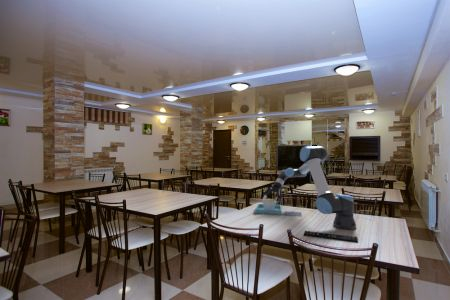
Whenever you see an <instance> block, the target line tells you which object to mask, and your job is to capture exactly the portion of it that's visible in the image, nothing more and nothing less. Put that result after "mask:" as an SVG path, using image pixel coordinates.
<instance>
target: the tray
mask: <svg viewBox="0 0 450 300" xmlns="http://www.w3.org/2000/svg"><path fill="white" fill-rule="evenodd" d="M282 209H283V206H282V204H276V205H275V210H264V203H257V205H256V207H255V209H254V210H255V211H254V213H255V215H278V216H279V215H280V216H281V215H282Z"/></svg>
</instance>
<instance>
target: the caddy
mask: <svg viewBox="0 0 450 300" xmlns="http://www.w3.org/2000/svg"><path fill="white" fill-rule="evenodd" d="M275 199H276V198H275ZM275 199H273V198H266V199H264V202H263V204H264V210H275V204H274V201H275Z"/></svg>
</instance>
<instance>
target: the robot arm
mask: <svg viewBox="0 0 450 300" xmlns="http://www.w3.org/2000/svg"><path fill="white" fill-rule="evenodd" d="M328 155H329V153H328V149H326V148H325V147H324V146H320V145H319V146H318V145H317V146H314V145H313V146H310V145H307V146H302V148H301V149H300V152H299V159H300V160H301V161H302V162H304V163H303V164H302V165H301V166H300V167H299V168H292V167H288V168H286V169H282V170H280V173H279V175H278V176H277V178H276V180H275V181H274V183H273V185H272V186H273V187H272V186H269V188H268V189H266V190H265V191H264V192H263V198H262V199H261V201H262V203H264V199H267V197H268V196H269V195H270V194H273V193H275V194H276V197H275V201H274V204H275V205H277V203H278V202H279V200H280V199H283V185H284V183H285V182H286V180H287V179H289V178H304V177H307V175H308V172H310V174H311V177H312V180H313V183H314V186H315V189H316V193H317V196H316V200H315V207H316V208H317V210H318V212H320V213H321V214H323V215H331V214H335V216H334V219H333V224H332V225H333V227H335V228H337V229H340V230H341V229H342V230H356V229H357V224H356V220H355V218H354V203H355V202H354V197H353V196H351V195H348V194H344V193H342V194H341V193H336V194H334V192H332V191H331V190H330V186H329V184H328V181H327V180H326V177H325V174H324V171H323V169H322V166H321V164H322V163H323V162H325V161H326V160H327V158H328Z"/></svg>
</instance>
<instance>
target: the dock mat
mask: <svg viewBox="0 0 450 300" xmlns="http://www.w3.org/2000/svg"><path fill="white" fill-rule="evenodd" d="M287 216H288V217H303V215H302V212H300V211H284V217H287Z"/></svg>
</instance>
